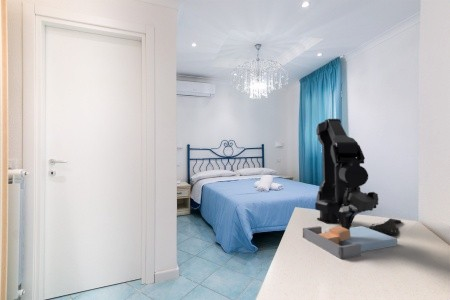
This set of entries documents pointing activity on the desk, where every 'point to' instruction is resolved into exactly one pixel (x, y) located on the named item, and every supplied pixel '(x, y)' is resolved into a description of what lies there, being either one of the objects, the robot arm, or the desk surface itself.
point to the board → (368, 238)
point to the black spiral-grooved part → (387, 227)
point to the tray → (331, 244)
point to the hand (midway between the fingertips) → (346, 232)
